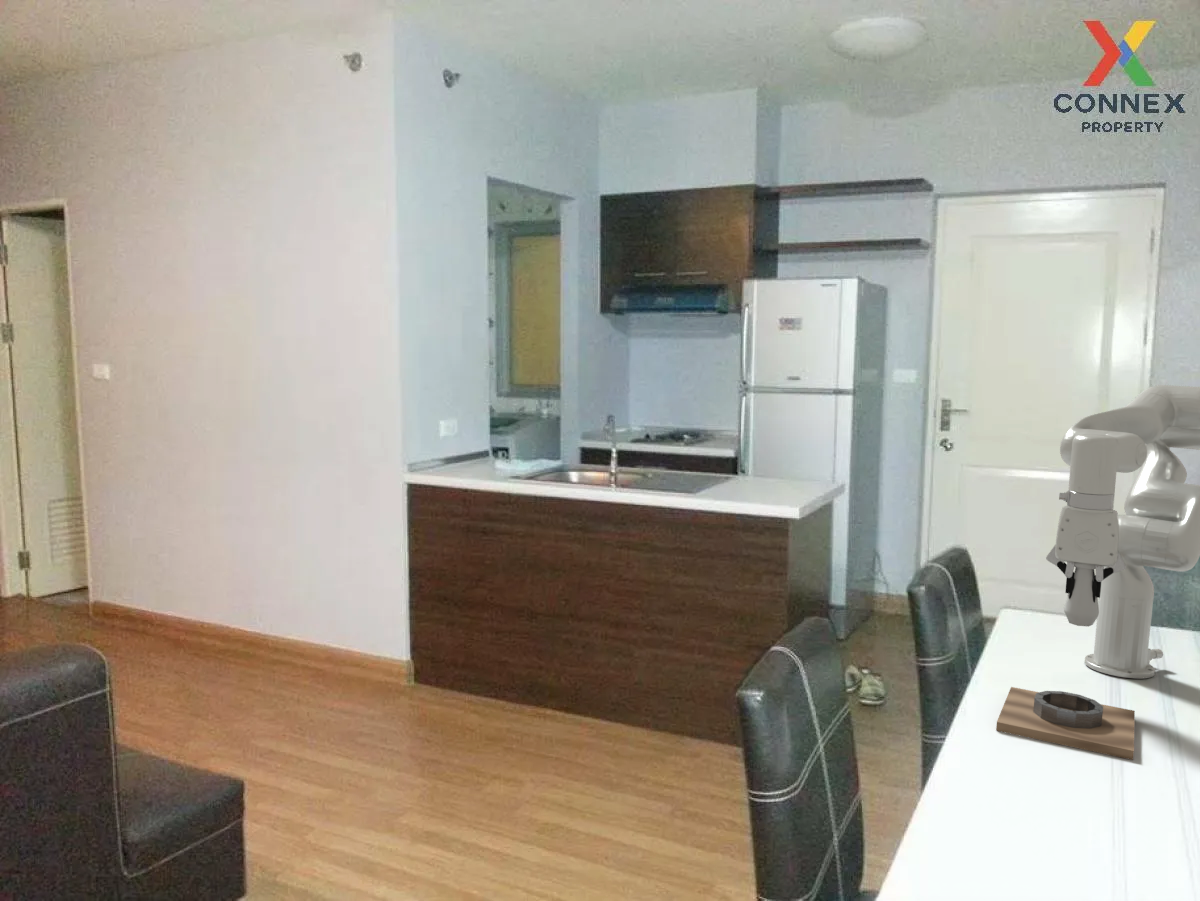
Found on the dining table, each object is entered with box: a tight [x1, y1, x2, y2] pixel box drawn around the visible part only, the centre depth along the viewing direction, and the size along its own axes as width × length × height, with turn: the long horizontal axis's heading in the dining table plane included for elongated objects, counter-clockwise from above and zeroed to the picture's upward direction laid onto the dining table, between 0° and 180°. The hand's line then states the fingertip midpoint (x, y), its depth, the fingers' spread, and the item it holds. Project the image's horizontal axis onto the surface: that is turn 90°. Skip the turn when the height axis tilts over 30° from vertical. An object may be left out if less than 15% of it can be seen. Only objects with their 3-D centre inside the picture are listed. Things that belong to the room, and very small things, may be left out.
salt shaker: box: [1063, 563, 1099, 627], centre depth 173 cm, size 6×6×13 cm
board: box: [995, 686, 1136, 761], centre depth 160 cm, size 20×20×2 cm
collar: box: [1033, 690, 1103, 729], centre depth 160 cm, size 10×10×2 cm
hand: (1082, 598), depth 173 cm, fingers closed on salt shaker, 3 cm apart
